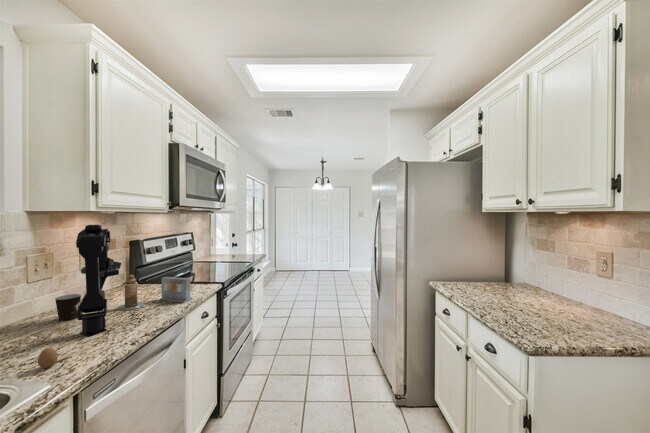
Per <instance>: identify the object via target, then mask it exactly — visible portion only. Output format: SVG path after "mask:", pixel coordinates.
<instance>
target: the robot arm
mask: <svg viewBox="0 0 650 433" xmlns="http://www.w3.org/2000/svg"><path fill="white" fill-rule="evenodd" d="M111 240H112V238H111V230H109V229H108V228H103V226H102V224H87V225H85V226H84V229H82V230H81V231H79V232H78V233H77V236H76V241H75V244H76V247H75V248H77V249H78V254H79V255H80V256H81V257H82V258H83V260H84V267H82V268H81V269H80V272H81V274H82V275H85V290H86V292H85V293H84V295H83V296H82V299H81V301H80V305H79V306H78V313H77V318H76V319H77V320H78V321H79V322H80V321H81V331H80V332H79V335H82V336H85V337H91V336H94V335H98V334H100V333H103V332H106V331H107V330H108V329H107V328H106V323H107V320H106V317H107V314H108V298H106V293H105V291H104V290H103V288H104V285H105V282H106V279H107V278H110V277H114V276H119V275H120V269H121V266H122V262H119V261H114V259H112V258H110V257H108V256H109V255H108V253H109V250H110V248H111V247H110V244H109V243H111V242H112V241H111Z"/></svg>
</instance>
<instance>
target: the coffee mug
mask: <svg viewBox="0 0 650 433" xmlns="http://www.w3.org/2000/svg"><path fill="white" fill-rule="evenodd" d="M81 297H82V295H81V294H80V293H71V294H65V295H61V296H60V295H59V296H57V297H55V298H54V299H55V307H56V311H57V318H58V321H59V322H61V321H63V322H69V321H74V320H76V319H77V313H78V306H79V305H80V302H81V300H82V299H81Z"/></svg>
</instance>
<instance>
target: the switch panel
mask: <svg viewBox="0 0 650 433" xmlns="http://www.w3.org/2000/svg"><path fill="white" fill-rule="evenodd" d="M192 300H193V297H191V278H187V277H176V276H175V277H174V276H173V277H172V276H164V277H161V298H159V301H160V302H171V303H183V304H186V303H188V302H190V301H192Z"/></svg>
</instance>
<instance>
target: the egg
mask: <svg viewBox="0 0 650 433" xmlns="http://www.w3.org/2000/svg"><path fill="white" fill-rule="evenodd" d="M58 357H59V355H58V352H57V350H56V349H55V348H52V347H46V348H44V349H43V350H42V351H41V352H40V354H39V356H38V359H37V365H38V366H39V367H40V368H42V369H48V368H51V367H52V366H54V365H55V364H56V362H57V361H58Z"/></svg>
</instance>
